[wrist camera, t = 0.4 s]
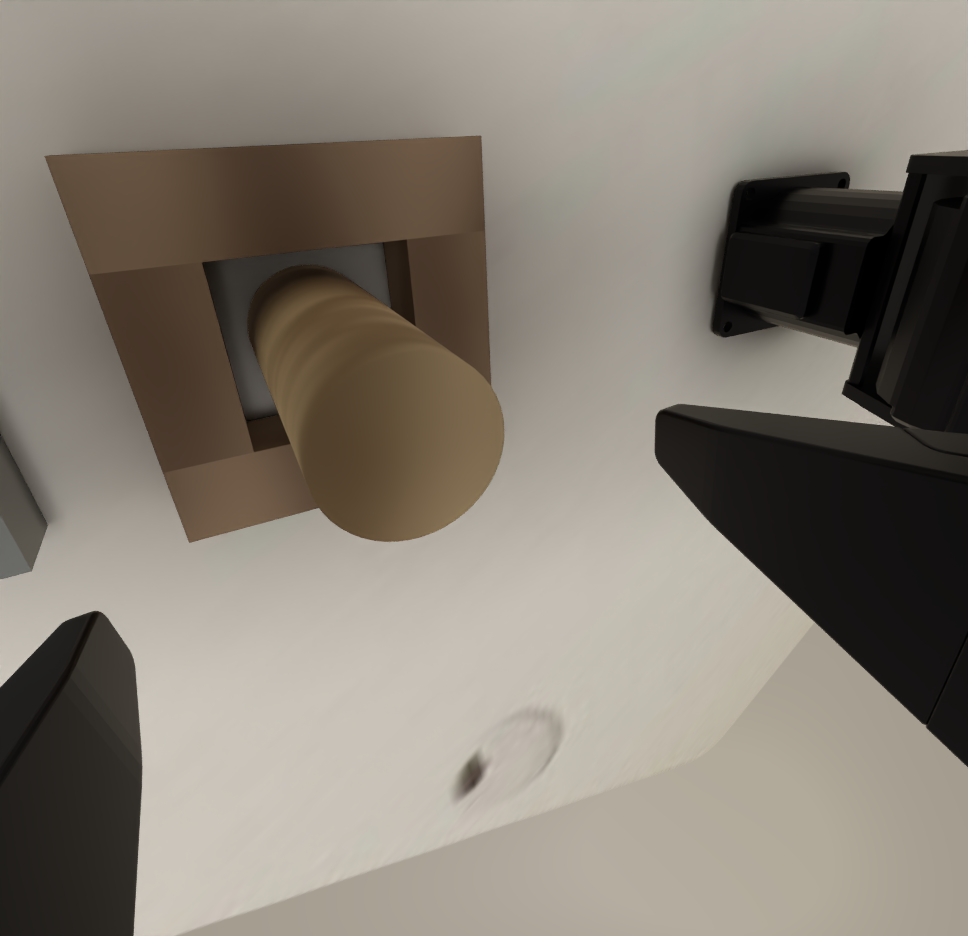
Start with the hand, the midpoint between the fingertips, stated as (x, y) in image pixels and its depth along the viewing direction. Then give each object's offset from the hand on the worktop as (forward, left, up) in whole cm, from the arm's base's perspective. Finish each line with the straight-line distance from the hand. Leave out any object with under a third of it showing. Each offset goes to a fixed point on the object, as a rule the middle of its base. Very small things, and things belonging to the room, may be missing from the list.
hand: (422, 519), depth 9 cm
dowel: (-1, 0, -12) cm, 12 cm away
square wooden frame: (-1, 0, -12) cm, 12 cm away
